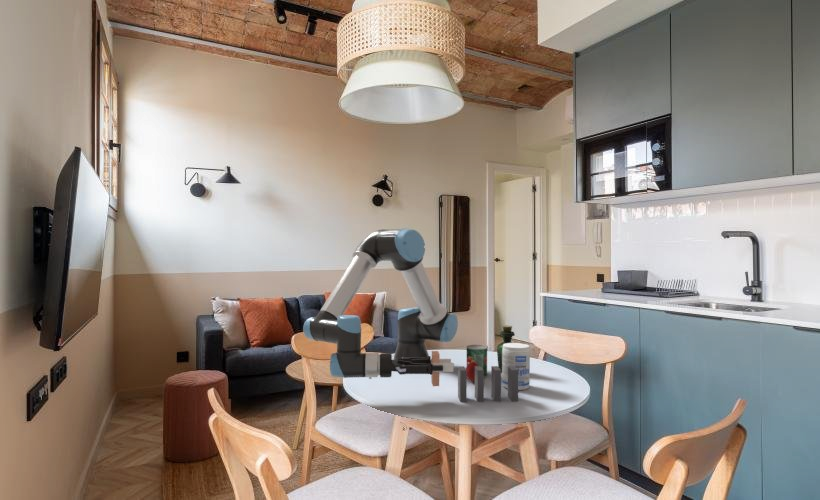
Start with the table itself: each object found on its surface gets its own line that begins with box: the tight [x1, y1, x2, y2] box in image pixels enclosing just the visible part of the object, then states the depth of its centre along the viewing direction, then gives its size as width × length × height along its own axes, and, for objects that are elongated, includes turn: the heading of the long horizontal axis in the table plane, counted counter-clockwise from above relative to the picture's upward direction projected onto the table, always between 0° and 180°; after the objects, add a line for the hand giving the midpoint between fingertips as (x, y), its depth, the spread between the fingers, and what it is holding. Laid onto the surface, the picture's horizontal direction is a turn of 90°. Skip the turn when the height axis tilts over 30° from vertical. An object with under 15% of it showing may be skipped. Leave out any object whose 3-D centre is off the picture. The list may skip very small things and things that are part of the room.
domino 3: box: [490, 365, 502, 403], centre depth 151 cm, size 2×5×10 cm, turn 3°
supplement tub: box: [501, 342, 531, 391], centre depth 164 cm, size 10×10×15 cm
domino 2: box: [474, 366, 485, 403], centre depth 150 cm, size 2×5×10 cm, turn 3°
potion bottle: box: [496, 325, 515, 374], centre depth 184 cm, size 8×8×18 cm
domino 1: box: [457, 365, 468, 403], centre depth 150 cm, size 2×5×10 cm, turn 3°
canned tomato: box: [466, 344, 488, 379], centre depth 179 cm, size 8×8×11 cm
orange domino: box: [431, 350, 441, 387], centre depth 150 cm, size 2×5×10 cm, turn 3°
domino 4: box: [507, 366, 519, 402], centre depth 151 cm, size 2×5×10 cm, turn 3°
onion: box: [465, 360, 478, 383], centre depth 170 cm, size 6×6×8 cm
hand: (451, 365), depth 150 cm, fingers closed on orange domino, 5 cm apart
